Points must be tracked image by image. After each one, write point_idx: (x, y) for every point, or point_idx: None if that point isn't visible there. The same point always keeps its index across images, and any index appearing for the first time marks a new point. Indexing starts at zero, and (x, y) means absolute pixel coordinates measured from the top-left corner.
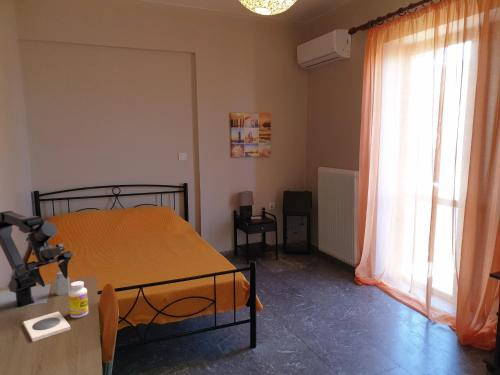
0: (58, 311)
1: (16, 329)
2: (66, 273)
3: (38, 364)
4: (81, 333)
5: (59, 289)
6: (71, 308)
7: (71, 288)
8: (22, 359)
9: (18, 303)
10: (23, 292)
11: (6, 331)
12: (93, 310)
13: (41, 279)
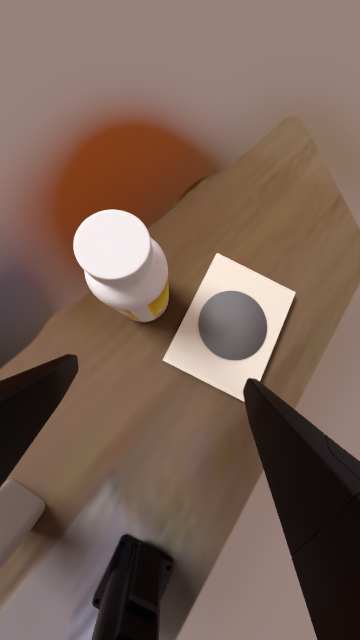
0: (163, 359)
1: None
2: (41, 371)
3: (333, 213)
4: (218, 219)
5: (19, 523)
6: (168, 291)
7: (149, 267)
8: (338, 255)
9: (160, 581)
10: (144, 630)
11: None
12: None
13: (293, 418)
